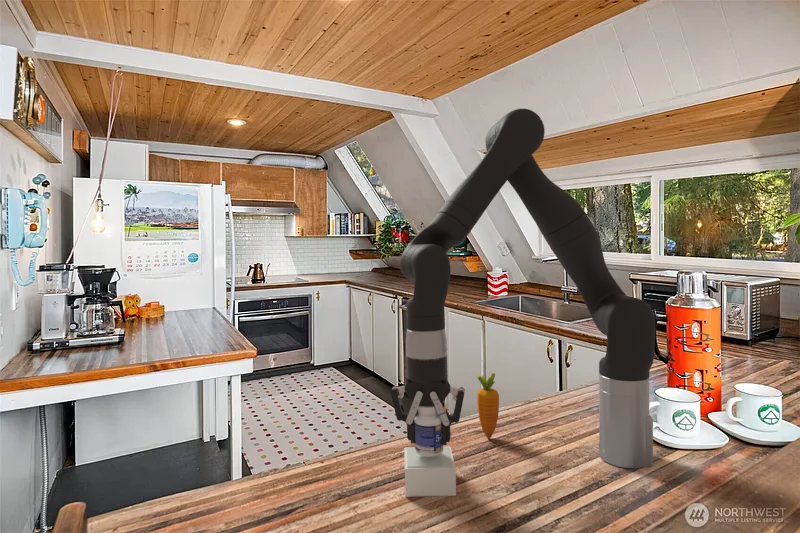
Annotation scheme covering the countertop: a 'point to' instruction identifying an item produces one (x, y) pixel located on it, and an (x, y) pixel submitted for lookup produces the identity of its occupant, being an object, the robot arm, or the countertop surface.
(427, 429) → the pill bottle
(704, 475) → the countertop surface
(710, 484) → the countertop surface
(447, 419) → the robot arm
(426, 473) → the pedestal
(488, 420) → the carrot
